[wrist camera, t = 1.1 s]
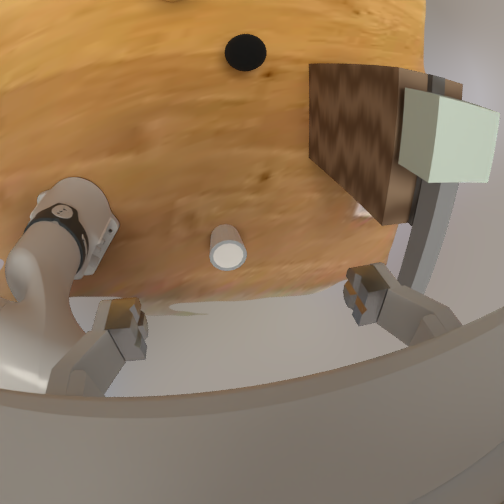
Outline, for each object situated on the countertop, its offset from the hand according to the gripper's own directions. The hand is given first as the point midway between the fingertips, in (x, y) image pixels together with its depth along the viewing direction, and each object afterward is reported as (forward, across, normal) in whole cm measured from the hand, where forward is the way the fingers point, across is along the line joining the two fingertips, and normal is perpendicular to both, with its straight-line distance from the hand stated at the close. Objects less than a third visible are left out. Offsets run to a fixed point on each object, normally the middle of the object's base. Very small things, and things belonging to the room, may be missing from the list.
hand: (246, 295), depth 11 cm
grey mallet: (+16, +23, -6) cm, 29 cm away
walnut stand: (+43, +23, +1) cm, 49 cm away
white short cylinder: (+43, +1, -24) cm, 49 cm away
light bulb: (+43, +6, +11) cm, 45 cm away
